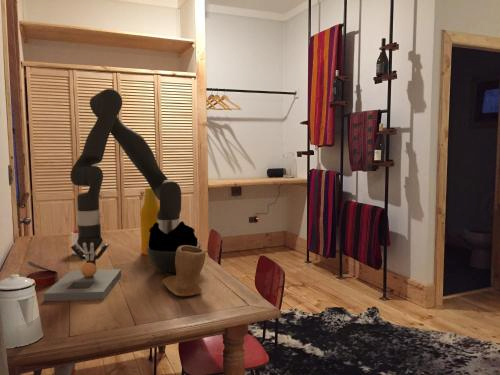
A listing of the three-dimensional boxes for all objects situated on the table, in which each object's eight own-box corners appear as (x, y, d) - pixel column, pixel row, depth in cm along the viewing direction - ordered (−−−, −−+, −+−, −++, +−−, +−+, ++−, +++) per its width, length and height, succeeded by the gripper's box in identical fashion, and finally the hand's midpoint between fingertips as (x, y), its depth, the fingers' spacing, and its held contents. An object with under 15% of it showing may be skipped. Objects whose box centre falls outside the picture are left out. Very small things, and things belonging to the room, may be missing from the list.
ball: (99, 271, 150) (97, 259, 148) (95, 279, 145) (93, 267, 143) (84, 271, 149) (82, 259, 147) (80, 280, 145) (78, 268, 143)
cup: (100, 250, 193) (99, 229, 192) (90, 256, 183) (89, 233, 182) (79, 250, 194) (78, 228, 193) (68, 255, 184) (67, 233, 183)
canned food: (30, 294, 150) (28, 267, 153) (61, 287, 154) (58, 261, 157) (23, 289, 140) (21, 260, 143) (56, 282, 144) (53, 254, 147)
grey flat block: (121, 275, 156) (121, 269, 155) (103, 299, 132) (103, 291, 132) (71, 277, 154) (70, 270, 154) (44, 301, 131) (43, 293, 130)
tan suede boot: (211, 295, 136) (210, 249, 134) (175, 301, 130) (174, 253, 129) (195, 281, 149) (194, 239, 147) (161, 286, 144) (160, 243, 142)
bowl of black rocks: (211, 268, 164) (210, 220, 163) (177, 283, 147) (176, 229, 145) (171, 261, 175) (170, 216, 173) (136, 274, 157) (134, 224, 156)
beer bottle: (164, 254, 186) (162, 188, 183) (142, 256, 183) (140, 189, 180) (160, 249, 195) (159, 186, 192) (140, 251, 191) (138, 187, 188)
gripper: (111, 220, 152) (113, 267, 154) (73, 220, 151) (75, 267, 153) (105, 224, 145) (107, 273, 147) (65, 225, 144) (68, 274, 146)
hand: (91, 270), depth 150 cm, fingers closed
